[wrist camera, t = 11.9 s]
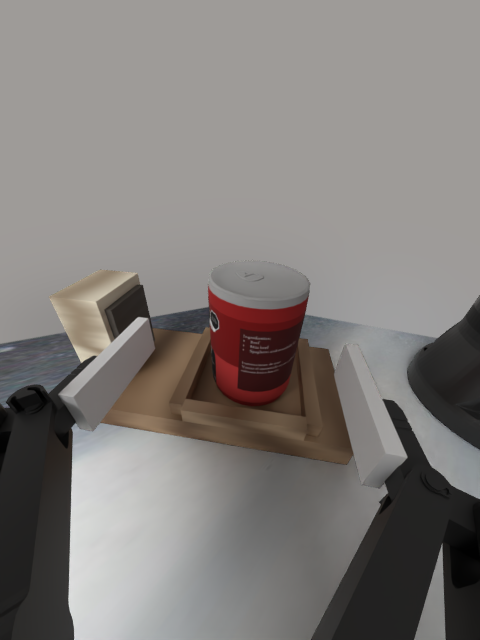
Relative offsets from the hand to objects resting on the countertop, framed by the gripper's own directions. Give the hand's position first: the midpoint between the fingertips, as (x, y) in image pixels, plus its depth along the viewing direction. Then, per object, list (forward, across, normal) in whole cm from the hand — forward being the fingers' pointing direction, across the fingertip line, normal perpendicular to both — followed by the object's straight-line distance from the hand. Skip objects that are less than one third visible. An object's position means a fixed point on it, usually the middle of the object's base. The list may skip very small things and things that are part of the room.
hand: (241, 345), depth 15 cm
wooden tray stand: (+5, -4, -10) cm, 12 cm away
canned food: (+5, 0, -8) cm, 9 cm away
